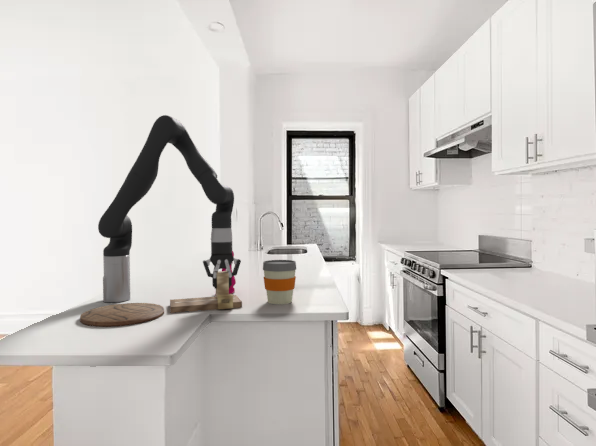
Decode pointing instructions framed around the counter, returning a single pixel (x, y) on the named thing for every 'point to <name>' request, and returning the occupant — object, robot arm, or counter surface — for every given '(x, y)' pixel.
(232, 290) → the pepper mill
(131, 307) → the trivet
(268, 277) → the reusable coffee cup
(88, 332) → the counter surface
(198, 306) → the walnut board
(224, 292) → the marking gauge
